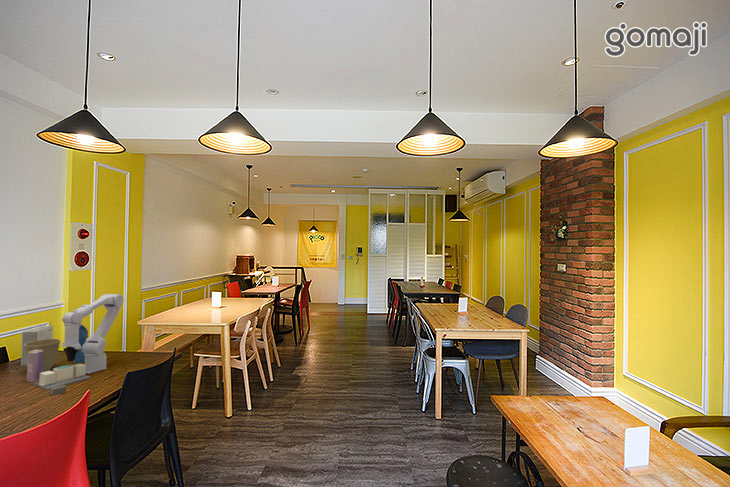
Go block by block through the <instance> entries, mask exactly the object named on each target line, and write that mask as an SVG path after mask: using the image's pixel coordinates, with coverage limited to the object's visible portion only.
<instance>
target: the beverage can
mask: <svg viewBox="0 0 730 487" xmlns="http://www.w3.org/2000/svg"><path fill="white" fill-rule="evenodd" d="M42 372H43V350H33V351H29V352H28V361H27V366H26V381H27V383H36V382H39V380H40V373H42Z"/></svg>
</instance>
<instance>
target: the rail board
mask: <svg viewBox="0 0 730 487" xmlns="http://www.w3.org/2000/svg"><path fill="white" fill-rule="evenodd" d="M72 365H73V366H74V369H73V378H69V379H65V380H61V381H58V382H56V381H55V376H56V373H55V372H53V370H49V371H46V372H42V373H40V380H39V381H35V382H33V383H34V386H36V387H38V388H39V389H40V388H41V389H43V390H45V391H51V387H56V386H60V385H65V386H66V387H67V386H69V385H72V384H76V383H80V382H83V381H87V380H90V379H91V378H92V377H91V376H89V375H86V374H87V373H86V365H85V364H83V363H77V364H76V363H75V364H72Z"/></svg>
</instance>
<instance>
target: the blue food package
mask: <svg viewBox="0 0 730 487" xmlns="http://www.w3.org/2000/svg"><path fill="white" fill-rule="evenodd" d="M86 338H89V332H88V329H87V327H86V326H85V325H84V324H83V320H82V321H81V322H80V323H79V344H80V345H81V348H82V346H83V344H84V343H85V339H86ZM72 362H73V363H75V364H76V363H77V364H78V363H81V362H85V355H84V353H82V351H81V349H79V350H78V351H77V353H76V356H75V359H74V361H72Z"/></svg>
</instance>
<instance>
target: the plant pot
mask: <svg viewBox="0 0 730 487" xmlns="http://www.w3.org/2000/svg"><path fill="white" fill-rule="evenodd" d="M60 344H61V339H58V338H53V339H44V340H37V341H32V342H28V343H26V344H24V347H25V353H26V357H27V360H28V352H29V351H33V350H43V372H46V371H51V370H52V369H53V365H54V363H55V362H56V357H57V355H58V352H59V350H60V349H59V348H60Z"/></svg>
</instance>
